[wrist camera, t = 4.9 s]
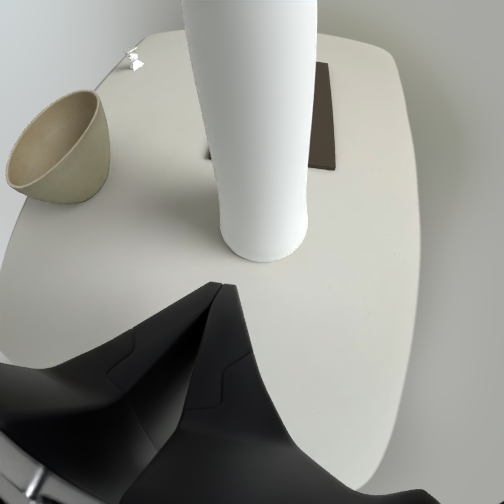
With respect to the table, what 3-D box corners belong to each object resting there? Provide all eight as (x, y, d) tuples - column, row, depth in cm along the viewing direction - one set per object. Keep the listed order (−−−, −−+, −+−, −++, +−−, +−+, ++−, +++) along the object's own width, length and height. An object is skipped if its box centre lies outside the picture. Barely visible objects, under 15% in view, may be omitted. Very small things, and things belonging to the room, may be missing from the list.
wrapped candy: (138, 62, 28) (131, 46, 26) (143, 64, 28) (136, 47, 25) (129, 68, 28) (122, 52, 25) (134, 69, 28) (127, 53, 25)
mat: (334, 170, 20) (335, 167, 20) (208, 159, 21) (207, 156, 21) (327, 65, 25) (327, 63, 25) (241, 59, 26) (240, 57, 26)
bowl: (70, 250, 19) (14, 213, 13) (41, 190, 22) (1, 154, 15) (153, 167, 21) (118, 107, 15) (107, 125, 24) (78, 79, 17)
